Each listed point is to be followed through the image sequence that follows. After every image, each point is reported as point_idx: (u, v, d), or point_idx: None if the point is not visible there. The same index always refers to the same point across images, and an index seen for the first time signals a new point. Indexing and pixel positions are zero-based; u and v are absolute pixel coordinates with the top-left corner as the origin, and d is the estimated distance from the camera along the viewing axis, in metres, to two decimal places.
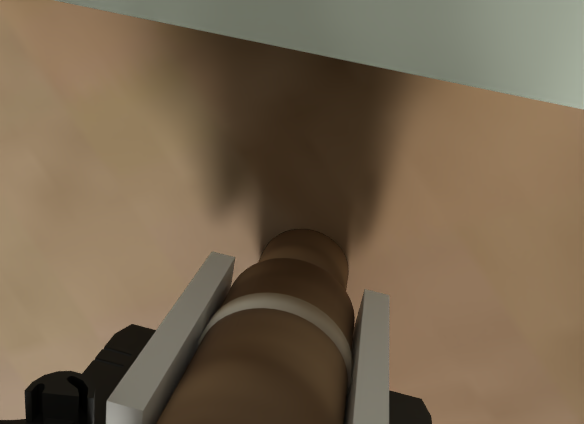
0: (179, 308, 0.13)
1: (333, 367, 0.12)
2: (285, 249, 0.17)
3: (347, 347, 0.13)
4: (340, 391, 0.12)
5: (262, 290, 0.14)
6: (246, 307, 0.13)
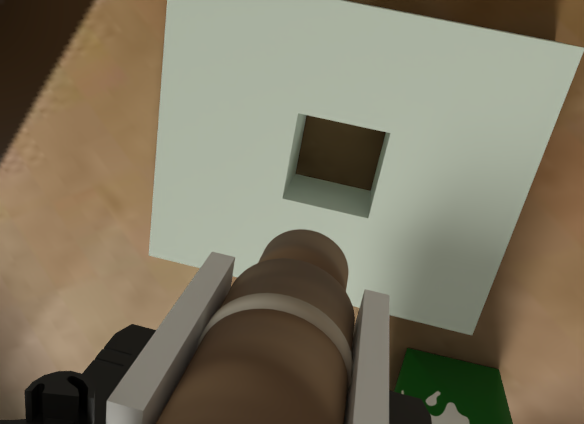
0: (179, 308, 0.13)
1: (333, 368, 0.12)
2: (285, 249, 0.17)
3: (347, 348, 0.13)
4: (340, 392, 0.12)
5: (262, 290, 0.13)
6: (246, 307, 0.13)
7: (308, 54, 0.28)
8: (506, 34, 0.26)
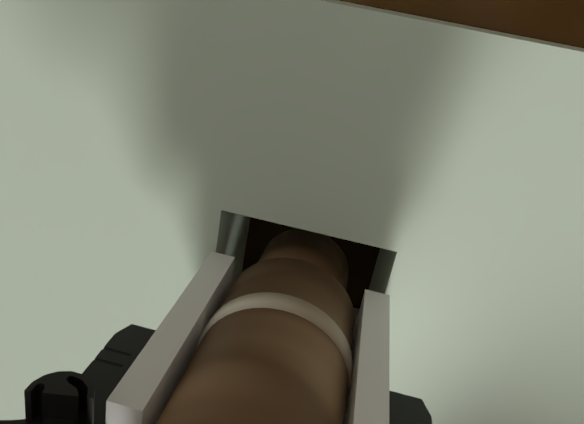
0: (179, 308, 0.13)
1: (333, 367, 0.12)
2: (285, 248, 0.17)
3: (347, 347, 0.13)
4: (340, 391, 0.12)
5: (262, 289, 0.13)
6: (246, 307, 0.13)
7: (236, 102, 0.14)
8: None
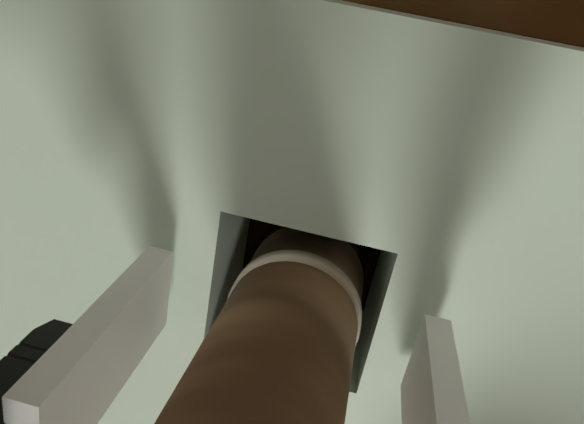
0: (102, 303, 0.13)
1: (345, 309, 0.14)
2: None
3: (357, 297, 0.15)
4: (351, 329, 0.14)
5: (285, 248, 0.16)
6: (272, 261, 0.15)
7: (235, 103, 0.14)
8: None
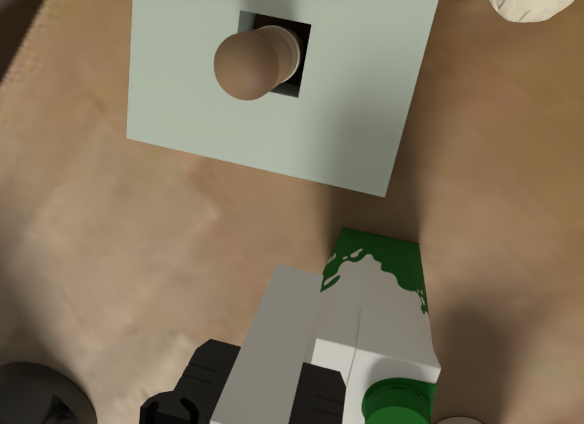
0: (258, 323, 0.13)
1: (291, 41, 0.36)
2: None
3: (297, 44, 0.38)
4: (293, 47, 0.36)
5: None
6: (262, 28, 0.37)
7: None
8: None
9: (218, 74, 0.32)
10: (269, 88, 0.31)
